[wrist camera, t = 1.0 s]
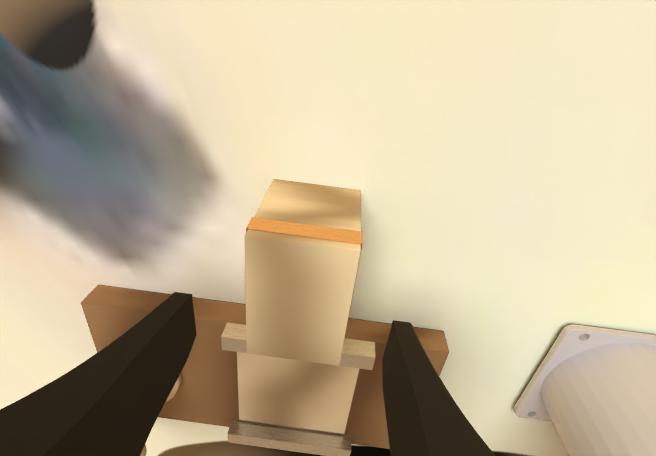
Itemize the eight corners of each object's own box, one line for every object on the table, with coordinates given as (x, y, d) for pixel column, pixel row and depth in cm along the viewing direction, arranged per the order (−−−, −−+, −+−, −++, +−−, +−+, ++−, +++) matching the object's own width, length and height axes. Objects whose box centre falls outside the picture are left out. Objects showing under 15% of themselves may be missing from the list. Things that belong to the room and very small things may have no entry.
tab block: (361, 188, 17) (362, 249, 12) (344, 290, 20) (340, 366, 15) (273, 177, 17) (243, 234, 12) (270, 280, 20) (245, 353, 15)
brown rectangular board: (443, 330, 21) (453, 367, 18) (405, 429, 26) (409, 467, 24) (98, 284, 21) (67, 316, 19) (129, 391, 26) (108, 425, 24)
